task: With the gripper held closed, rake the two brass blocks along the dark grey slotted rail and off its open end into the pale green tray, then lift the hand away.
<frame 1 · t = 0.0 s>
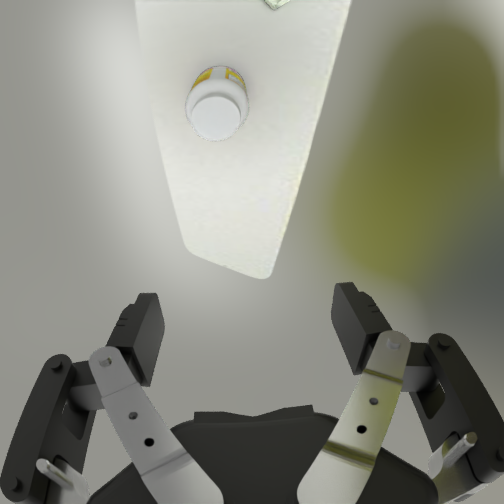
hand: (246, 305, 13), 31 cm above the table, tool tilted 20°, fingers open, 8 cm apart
supplement bottle: (219, 87, 33), on the table
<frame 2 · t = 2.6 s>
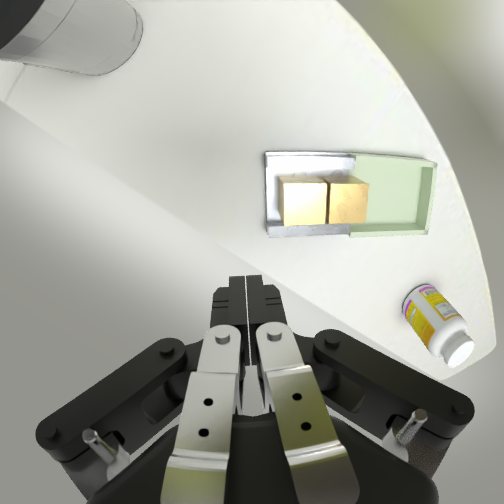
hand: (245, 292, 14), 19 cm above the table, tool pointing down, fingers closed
supplement bottle: (418, 300, 39), on the table
slot rail: (306, 191, 31), on the table
brass block 1: (297, 194, 30), point 1 cm above the table, touching slot rail
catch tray: (385, 192, 31), on the table
brass block 2: (336, 193, 30), point 1 cm above the table, touching slot rail
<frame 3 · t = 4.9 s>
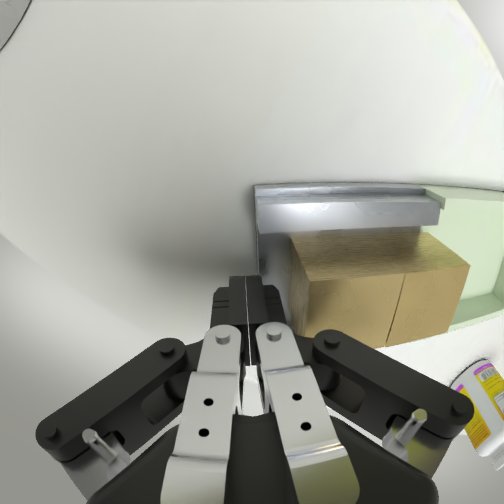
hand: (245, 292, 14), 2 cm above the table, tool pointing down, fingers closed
supplement bottle: (467, 377, 23), on the table
slot rail: (338, 262, 15), on the table
brass block 1: (327, 271, 15), point 1 cm above the table, touching gripper, slot rail
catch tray: (465, 251, 16), on the table
brass block 2: (394, 266, 15), point 1 cm above the table, touching slot rail
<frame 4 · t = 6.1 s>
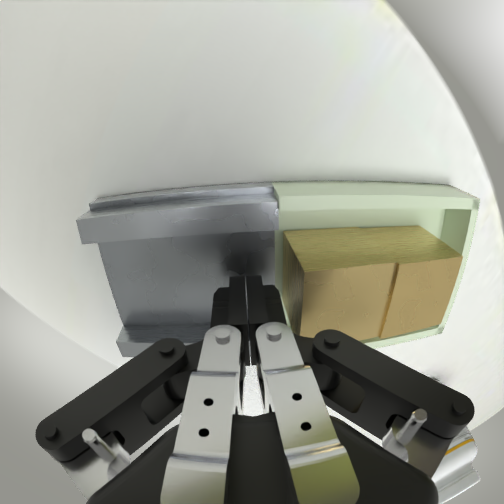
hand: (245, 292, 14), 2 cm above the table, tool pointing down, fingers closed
supplement bottle: (413, 396, 23), on the table
slot rail: (189, 270, 15), on the table
brass block 1: (319, 264, 15), point 1 cm above the table, touching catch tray, brass block 2, gripper
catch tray: (367, 258, 16), on the table
brass block 2: (386, 259, 15), point 1 cm above the table, touching brass block 1
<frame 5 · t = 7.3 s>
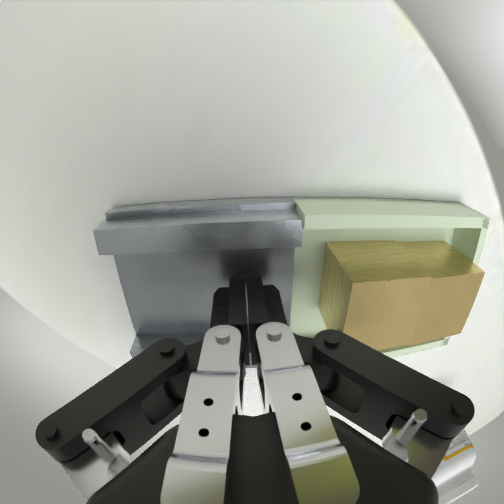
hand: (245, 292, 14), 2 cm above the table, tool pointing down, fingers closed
supplement bottle: (414, 403, 24), on the table
slot rail: (206, 281, 15), on the table
brass block 1: (355, 274, 15), resting on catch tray
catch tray: (379, 272, 16), on the table
brass block 2: (413, 271, 15), resting on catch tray
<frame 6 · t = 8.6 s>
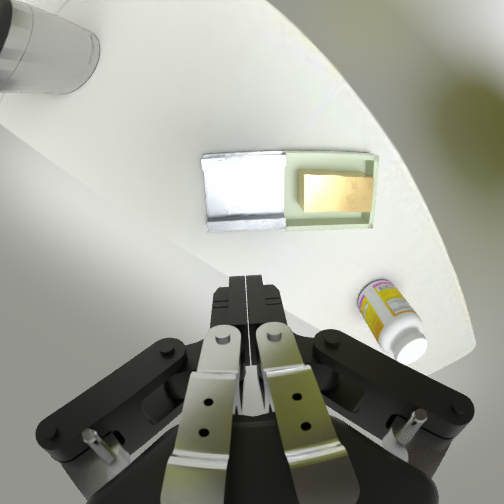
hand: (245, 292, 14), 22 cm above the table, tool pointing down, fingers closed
supplement bottle: (375, 295, 41), on the table
slot rail: (244, 189, 33), on the table
brass block 1: (313, 185, 33), resting on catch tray
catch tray: (326, 187, 34), on the table
brass block 2: (344, 186, 33), resting on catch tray
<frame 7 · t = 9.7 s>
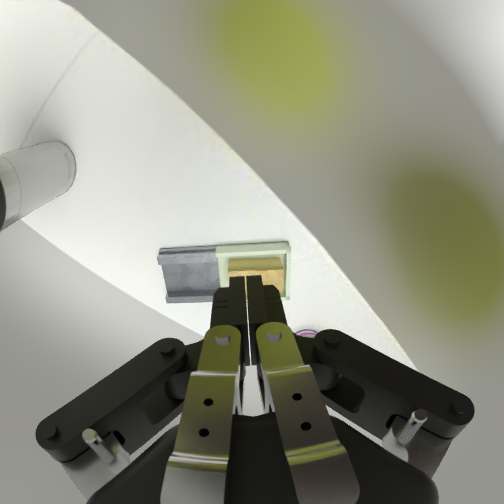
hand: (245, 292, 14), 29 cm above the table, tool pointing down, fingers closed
slot rail: (191, 272, 46), on the table
brass block 1: (241, 269, 46), resting on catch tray
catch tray: (253, 269, 46), on the table
brass block 2: (267, 268, 46), resting on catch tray
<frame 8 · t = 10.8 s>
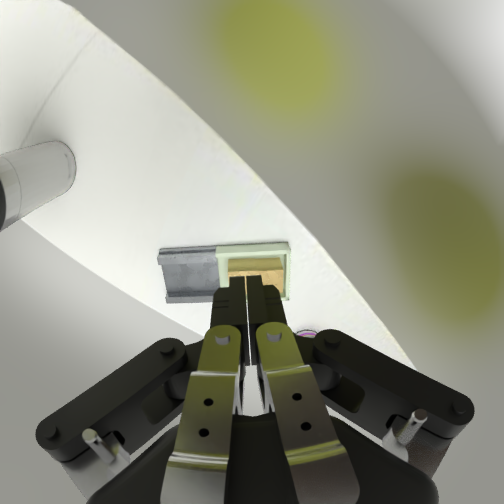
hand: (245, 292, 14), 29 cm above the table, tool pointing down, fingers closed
slot rail: (191, 272, 46), on the table
brass block 1: (241, 269, 46), resting on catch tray
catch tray: (253, 269, 46), on the table
brass block 2: (266, 269, 46), resting on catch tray
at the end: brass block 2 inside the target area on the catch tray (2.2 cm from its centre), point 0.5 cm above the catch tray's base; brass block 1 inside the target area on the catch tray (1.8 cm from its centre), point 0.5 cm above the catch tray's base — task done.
